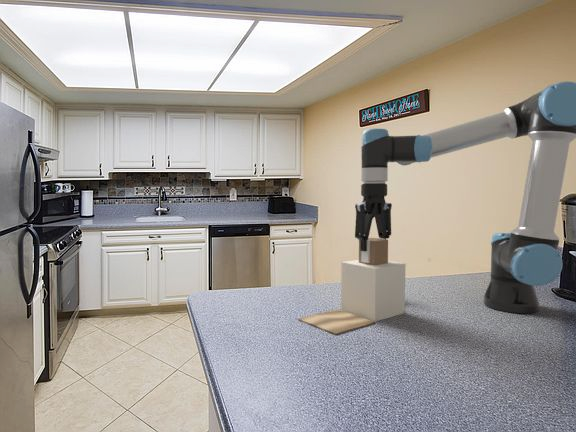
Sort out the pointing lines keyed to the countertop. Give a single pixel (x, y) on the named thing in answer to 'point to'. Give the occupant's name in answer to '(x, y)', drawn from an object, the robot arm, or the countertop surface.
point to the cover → (373, 284)
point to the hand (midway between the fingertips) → (373, 260)
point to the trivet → (336, 321)
